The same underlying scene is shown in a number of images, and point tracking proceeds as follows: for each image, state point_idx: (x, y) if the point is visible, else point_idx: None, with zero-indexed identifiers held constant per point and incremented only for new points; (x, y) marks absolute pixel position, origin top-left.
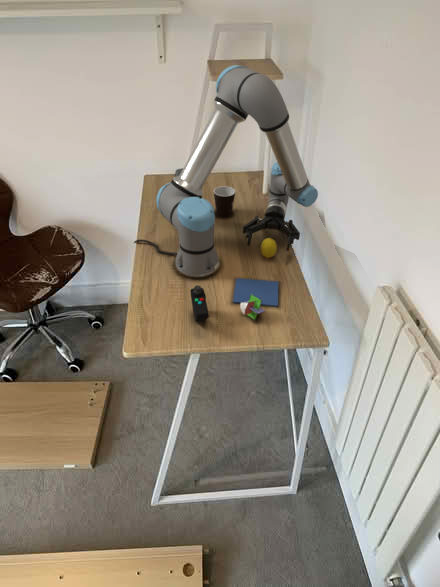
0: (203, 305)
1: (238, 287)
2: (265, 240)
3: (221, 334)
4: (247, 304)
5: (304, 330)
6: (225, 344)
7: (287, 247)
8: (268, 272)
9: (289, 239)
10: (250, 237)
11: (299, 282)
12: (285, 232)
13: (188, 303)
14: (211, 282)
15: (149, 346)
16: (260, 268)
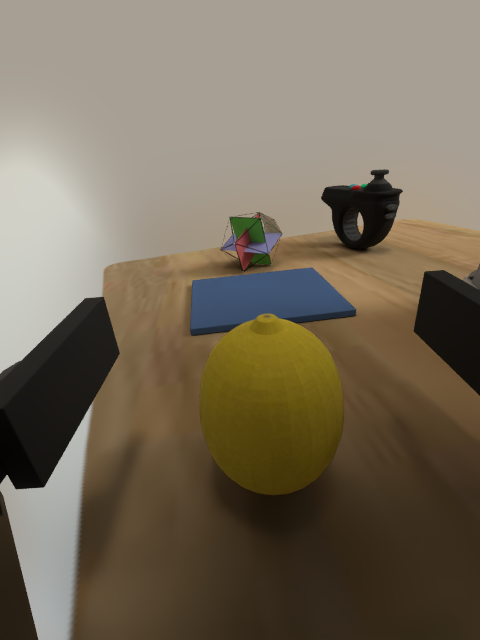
0: (343, 188)
1: (323, 290)
2: (303, 328)
3: (296, 243)
4: (260, 215)
5: (136, 268)
6: (281, 239)
7: (109, 329)
8: None
9: (60, 330)
10: (442, 287)
11: None
12: (11, 599)
13: (414, 256)
14: None
15: None
16: None
